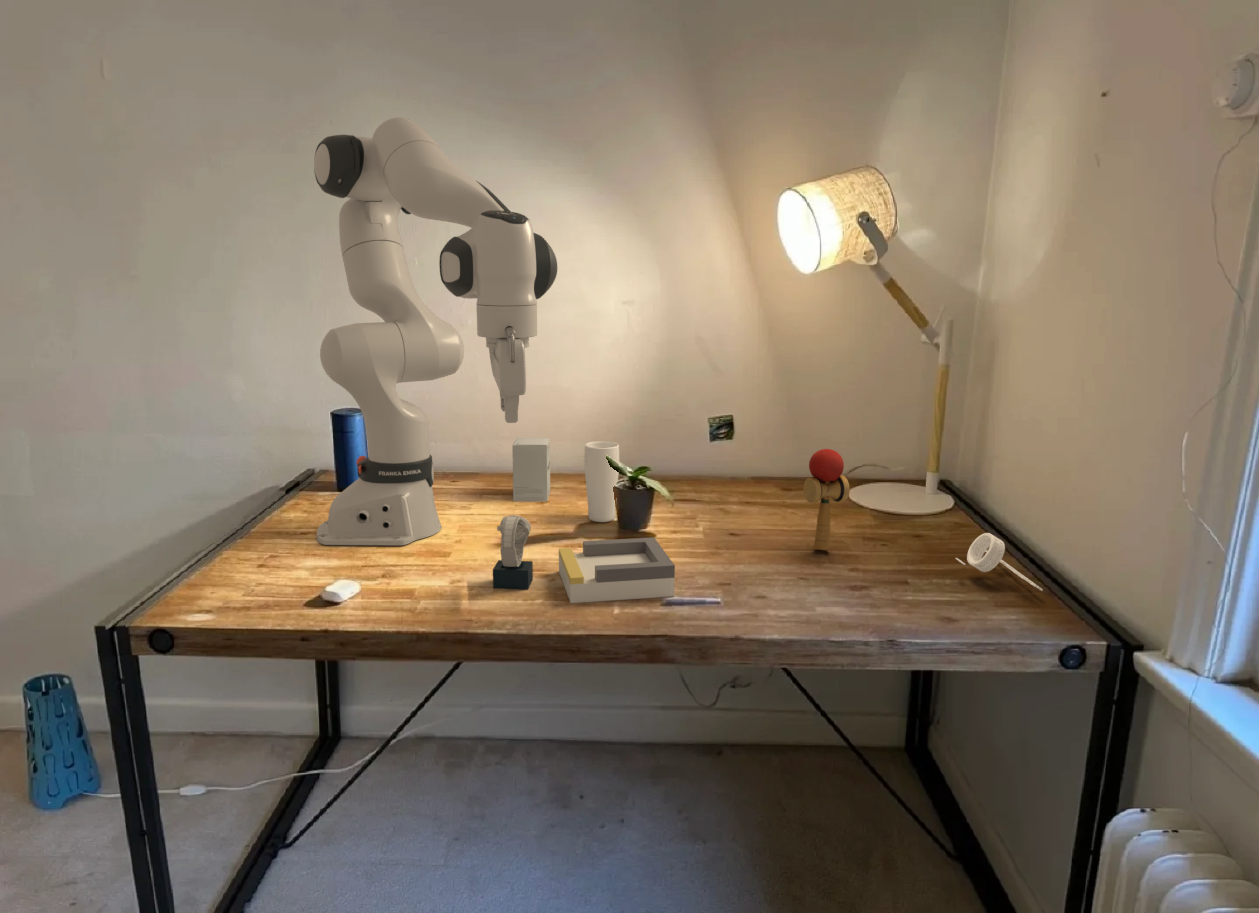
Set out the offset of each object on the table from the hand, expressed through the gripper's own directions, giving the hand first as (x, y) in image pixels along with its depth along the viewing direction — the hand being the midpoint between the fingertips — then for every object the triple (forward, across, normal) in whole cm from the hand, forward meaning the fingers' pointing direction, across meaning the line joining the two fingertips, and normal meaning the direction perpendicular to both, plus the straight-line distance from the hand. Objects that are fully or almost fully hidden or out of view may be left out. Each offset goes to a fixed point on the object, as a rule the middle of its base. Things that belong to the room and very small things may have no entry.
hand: (509, 416), depth 138 cm
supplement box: (+27, +50, -8) cm, 57 cm away
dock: (+27, -2, -16) cm, 32 cm away
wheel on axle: (+28, -8, -77) cm, 82 cm away
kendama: (+27, +9, -56) cm, 63 cm away
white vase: (+27, +33, -20) cm, 47 cm away
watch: (+27, +1, 0) cm, 27 cm away
